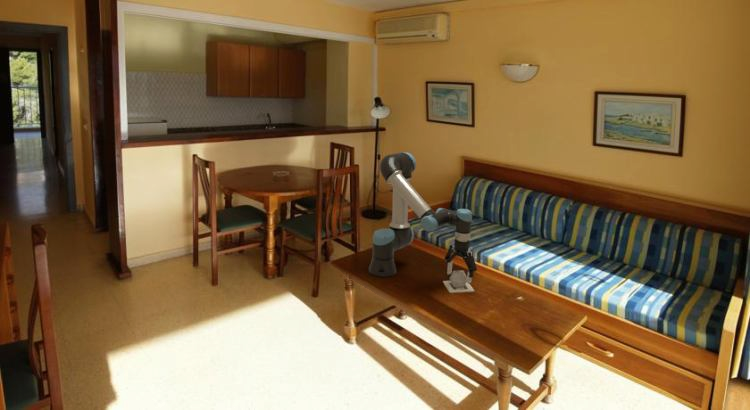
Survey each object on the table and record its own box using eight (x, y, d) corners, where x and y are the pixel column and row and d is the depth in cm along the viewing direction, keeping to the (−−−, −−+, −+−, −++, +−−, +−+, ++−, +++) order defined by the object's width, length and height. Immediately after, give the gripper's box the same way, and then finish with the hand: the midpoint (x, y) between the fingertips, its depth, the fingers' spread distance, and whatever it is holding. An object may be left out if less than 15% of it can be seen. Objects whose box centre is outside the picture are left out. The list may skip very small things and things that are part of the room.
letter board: (449, 292, 247) (450, 291, 247) (442, 282, 260) (442, 280, 260) (474, 291, 249) (474, 290, 249) (466, 281, 262) (466, 280, 262)
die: (463, 292, 248) (473, 275, 250) (448, 283, 248) (458, 266, 249) (458, 290, 257) (468, 274, 258) (444, 282, 257) (454, 265, 258)
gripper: (439, 234, 254) (436, 271, 260) (476, 248, 236) (472, 288, 242) (449, 231, 259) (446, 268, 265) (486, 245, 240) (482, 284, 246)
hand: (459, 278), depth 253 cm, fingers open, 13 cm apart
